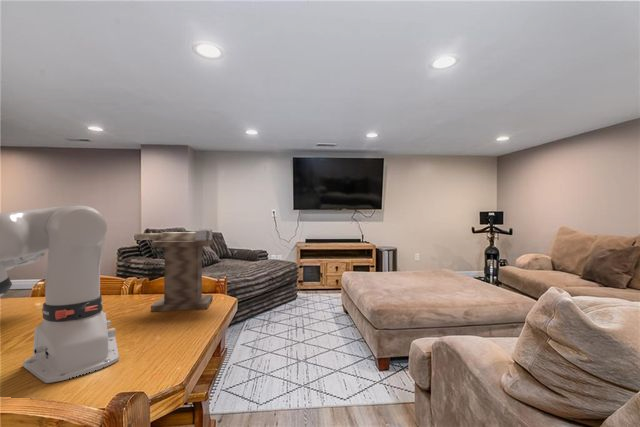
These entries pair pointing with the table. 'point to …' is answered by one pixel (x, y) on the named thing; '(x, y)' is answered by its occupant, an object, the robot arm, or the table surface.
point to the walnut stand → (182, 276)
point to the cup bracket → (203, 235)
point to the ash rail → (166, 236)
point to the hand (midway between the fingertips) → (72, 238)
